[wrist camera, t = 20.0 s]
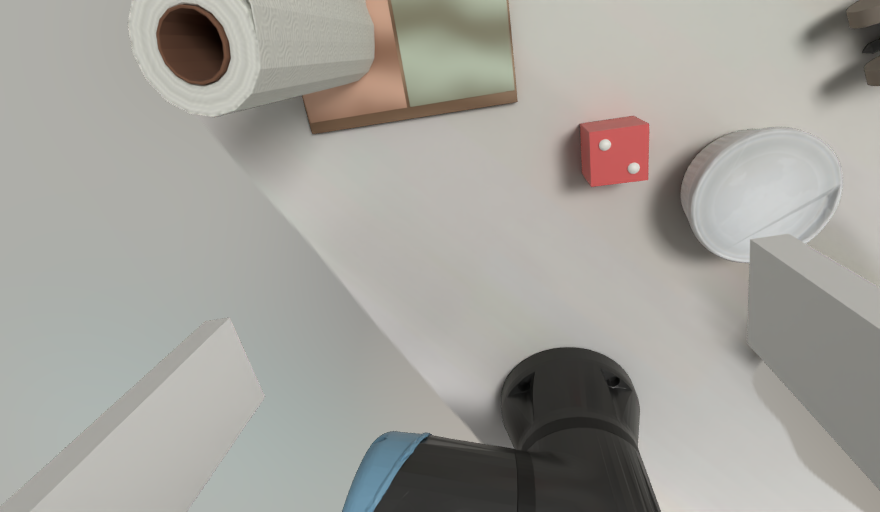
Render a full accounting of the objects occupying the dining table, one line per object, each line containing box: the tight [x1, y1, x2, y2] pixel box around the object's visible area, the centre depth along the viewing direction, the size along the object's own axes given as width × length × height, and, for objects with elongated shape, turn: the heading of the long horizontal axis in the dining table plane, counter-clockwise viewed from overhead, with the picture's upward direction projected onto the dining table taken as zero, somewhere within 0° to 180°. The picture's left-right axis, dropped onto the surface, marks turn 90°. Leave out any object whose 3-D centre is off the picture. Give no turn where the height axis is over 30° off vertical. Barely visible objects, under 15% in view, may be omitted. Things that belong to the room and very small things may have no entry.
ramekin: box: [680, 127, 843, 263], centre depth 39 cm, size 11×11×5 cm
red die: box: [580, 116, 649, 187], centre depth 39 cm, size 4×4×5 cm
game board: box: [302, 0, 518, 134], centre depth 39 cm, size 14×19×1 cm
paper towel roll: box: [128, 0, 375, 117], centre depth 29 cm, size 7×6×21 cm
